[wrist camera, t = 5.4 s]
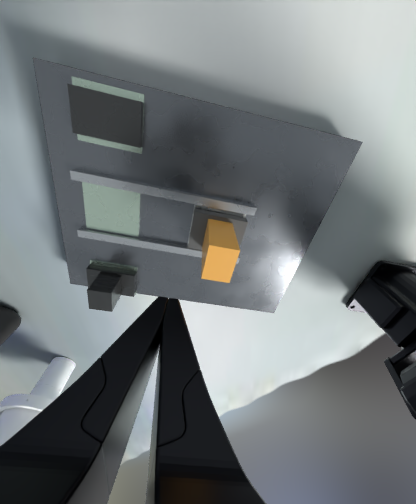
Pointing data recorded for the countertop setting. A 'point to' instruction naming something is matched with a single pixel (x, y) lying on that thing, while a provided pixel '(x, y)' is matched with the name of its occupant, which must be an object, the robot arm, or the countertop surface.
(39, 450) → the robot arm
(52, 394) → the white stepped cylinder
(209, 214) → the block
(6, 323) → the dark rounded block
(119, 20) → the countertop surface
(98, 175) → the breaker panel
